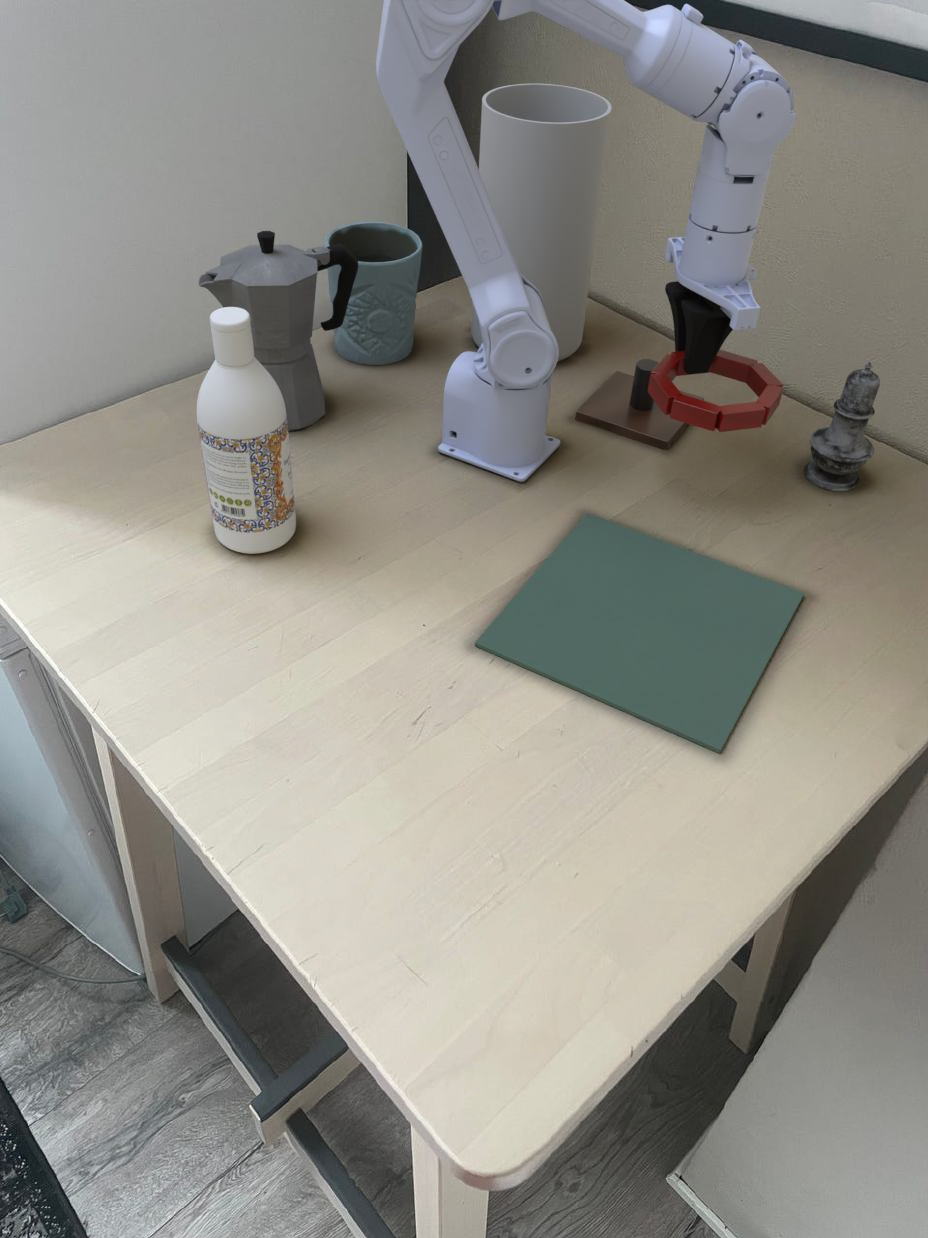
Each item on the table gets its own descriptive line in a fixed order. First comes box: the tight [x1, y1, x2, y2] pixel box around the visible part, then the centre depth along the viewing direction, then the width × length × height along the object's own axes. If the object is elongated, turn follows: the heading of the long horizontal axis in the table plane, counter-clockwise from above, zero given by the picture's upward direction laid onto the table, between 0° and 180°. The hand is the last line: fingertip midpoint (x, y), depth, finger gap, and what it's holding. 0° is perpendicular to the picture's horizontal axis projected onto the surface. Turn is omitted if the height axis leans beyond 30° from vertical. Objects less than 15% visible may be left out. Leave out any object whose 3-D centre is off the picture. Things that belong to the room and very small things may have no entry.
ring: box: [648, 348, 784, 433], centre depth 91 cm, size 11×11×2 cm
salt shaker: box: [802, 361, 881, 492], centre depth 95 cm, size 6×6×12 cm
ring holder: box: [574, 358, 705, 451], centre depth 104 cm, size 10×10×6 cm
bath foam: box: [196, 307, 297, 555], centre depth 82 cm, size 7×7×20 cm
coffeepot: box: [198, 230, 358, 432], centre depth 98 cm, size 15×9×18 cm, turn 120°
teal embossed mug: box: [323, 221, 423, 366], centre depth 109 cm, size 10×10×12 cm
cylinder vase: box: [470, 83, 613, 362], centre depth 108 cm, size 12×12×25 cm
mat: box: [474, 512, 805, 754], centre depth 82 cm, size 20×20×1 cm
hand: (691, 366), depth 95 cm, fingers closed on ring, 1 cm apart
